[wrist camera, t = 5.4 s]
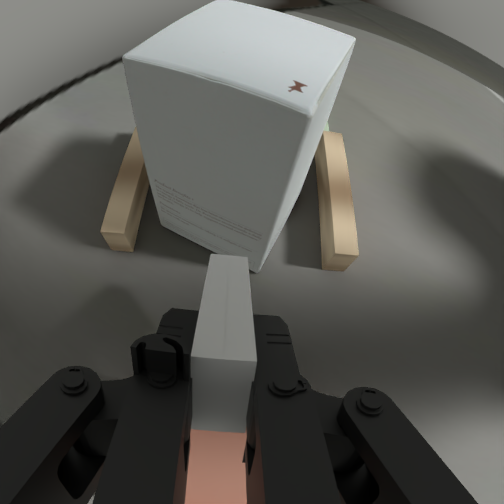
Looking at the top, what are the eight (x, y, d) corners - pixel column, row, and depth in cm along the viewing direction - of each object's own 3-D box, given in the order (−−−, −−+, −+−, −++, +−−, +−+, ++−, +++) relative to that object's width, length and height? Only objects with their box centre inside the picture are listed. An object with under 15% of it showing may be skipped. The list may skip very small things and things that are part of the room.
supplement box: (302, 191, 23) (364, 38, 11) (257, 277, 20) (314, 118, 8) (212, 150, 24) (221, -6, 12) (156, 224, 20) (115, 53, 9)
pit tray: (129, 386, 16) (119, 385, 14) (305, 400, 17) (316, 400, 15) (124, 505, 13) (115, 515, 11) (298, 517, 14) (307, 528, 12)
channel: (145, 136, 24) (141, 113, 21) (332, 154, 25) (341, 133, 22) (111, 249, 19) (100, 231, 17) (343, 271, 21) (358, 255, 18)
